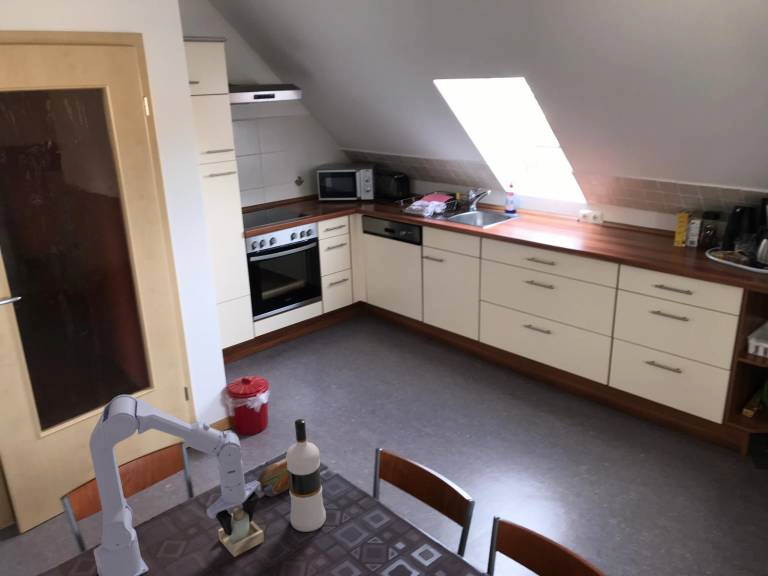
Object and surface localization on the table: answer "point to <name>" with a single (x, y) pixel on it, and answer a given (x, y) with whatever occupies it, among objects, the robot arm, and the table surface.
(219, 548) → the table surface
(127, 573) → the robot arm
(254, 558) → the table surface
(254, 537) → the wooden box
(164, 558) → the table surface
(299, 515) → the vodka
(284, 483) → the tin
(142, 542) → the table surface
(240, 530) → the bottle
